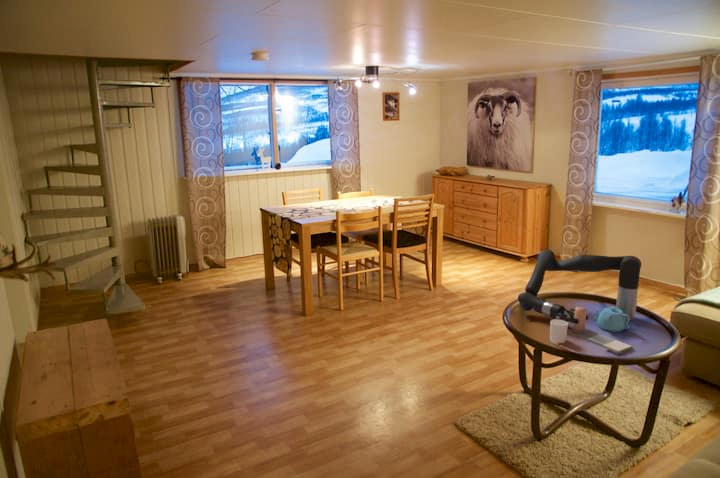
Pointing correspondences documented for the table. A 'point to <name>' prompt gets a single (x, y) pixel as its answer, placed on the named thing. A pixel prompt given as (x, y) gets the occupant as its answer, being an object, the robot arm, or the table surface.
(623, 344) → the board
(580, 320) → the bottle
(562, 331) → the white cup
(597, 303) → the table surface
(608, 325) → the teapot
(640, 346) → the table surface
